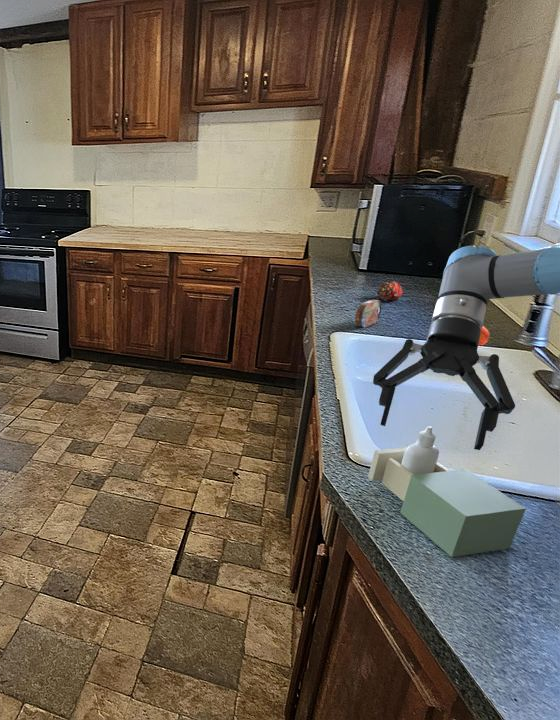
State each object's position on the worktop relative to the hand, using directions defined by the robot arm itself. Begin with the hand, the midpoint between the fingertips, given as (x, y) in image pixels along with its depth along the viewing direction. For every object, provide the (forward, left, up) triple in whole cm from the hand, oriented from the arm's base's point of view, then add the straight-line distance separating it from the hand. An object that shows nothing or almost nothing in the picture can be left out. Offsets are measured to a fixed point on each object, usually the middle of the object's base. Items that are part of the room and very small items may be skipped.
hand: (428, 434), depth 88 cm
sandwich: (-61, -90, -14) cm, 110 cm away
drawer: (-2, -3, -13) cm, 13 cm away
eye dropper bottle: (-2, -2, -12) cm, 12 cm away
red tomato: (-79, -66, -14) cm, 104 cm away
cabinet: (-2, +8, -14) cm, 16 cm away
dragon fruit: (-92, -117, -14) cm, 150 cm away
